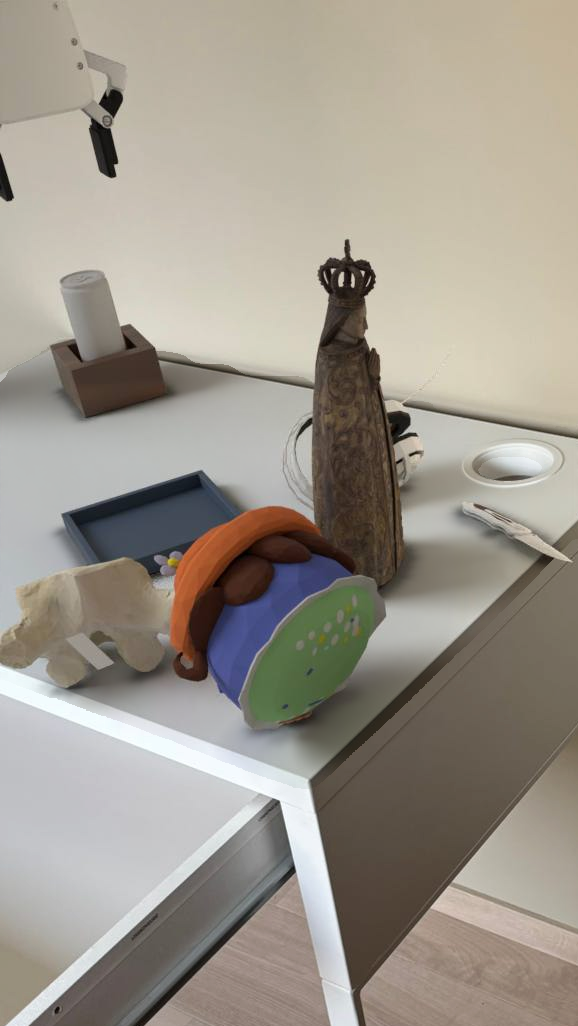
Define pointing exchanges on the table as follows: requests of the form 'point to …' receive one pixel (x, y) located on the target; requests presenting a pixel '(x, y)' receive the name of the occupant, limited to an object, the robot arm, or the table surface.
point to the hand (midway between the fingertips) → (58, 186)
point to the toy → (266, 615)
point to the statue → (353, 432)
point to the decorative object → (89, 618)
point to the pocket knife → (510, 528)
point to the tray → (150, 521)
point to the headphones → (404, 445)
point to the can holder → (110, 374)
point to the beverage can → (92, 314)
